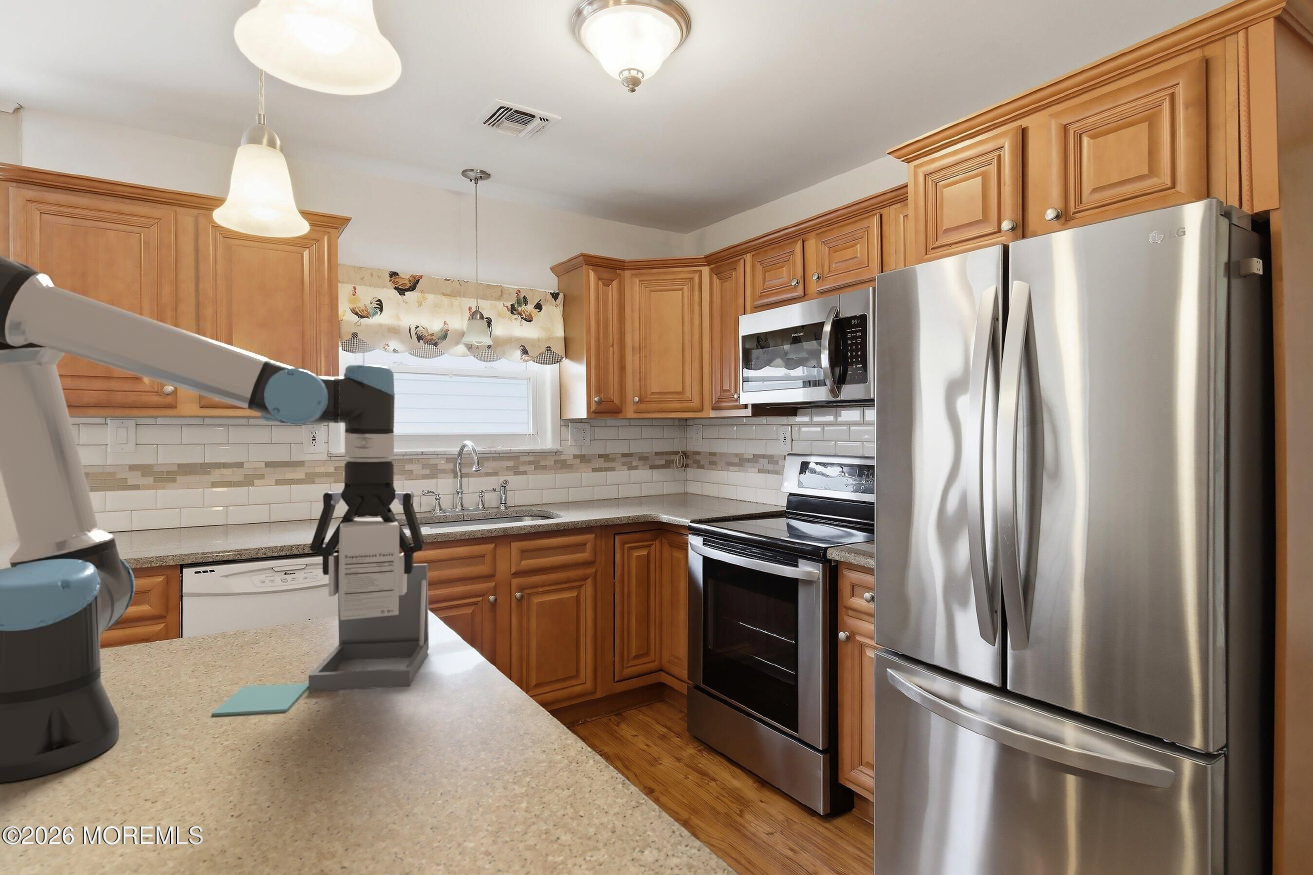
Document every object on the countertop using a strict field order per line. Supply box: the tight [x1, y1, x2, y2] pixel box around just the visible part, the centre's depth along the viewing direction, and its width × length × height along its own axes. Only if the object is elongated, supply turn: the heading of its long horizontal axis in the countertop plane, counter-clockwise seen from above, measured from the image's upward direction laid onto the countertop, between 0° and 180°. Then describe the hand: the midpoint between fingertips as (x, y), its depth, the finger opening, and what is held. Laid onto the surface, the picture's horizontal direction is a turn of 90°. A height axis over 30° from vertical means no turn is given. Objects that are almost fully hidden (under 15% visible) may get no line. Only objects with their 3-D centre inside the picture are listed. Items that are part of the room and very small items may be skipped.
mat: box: [211, 682, 309, 717], centre depth 105 cm, size 10×10×1 cm
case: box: [308, 563, 430, 692], centre depth 117 cm, size 15×16×16 cm
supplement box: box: [338, 517, 400, 620], centre depth 116 cm, size 9×9×15 cm
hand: (368, 593), depth 116 cm, fingers closed on supplement box, 10 cm apart
